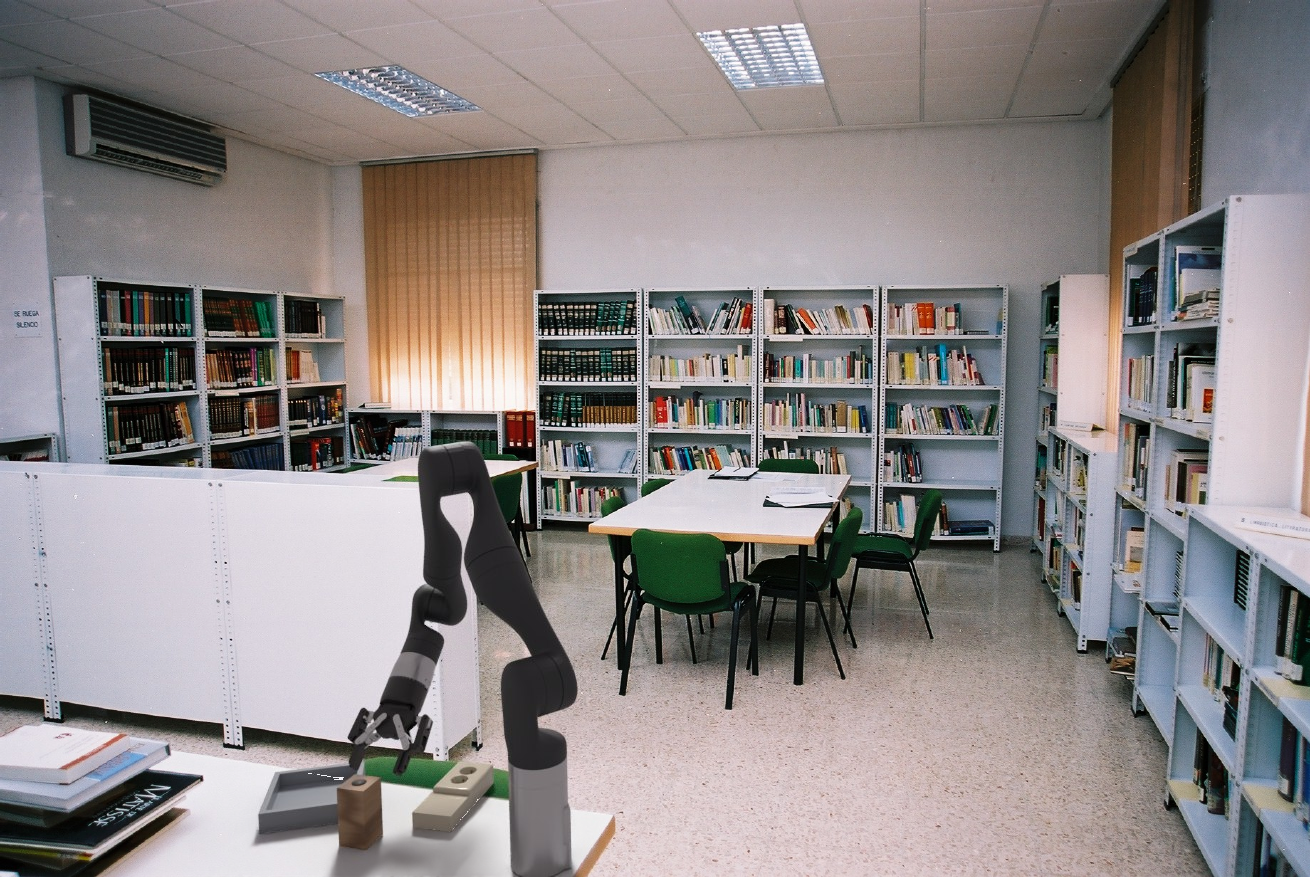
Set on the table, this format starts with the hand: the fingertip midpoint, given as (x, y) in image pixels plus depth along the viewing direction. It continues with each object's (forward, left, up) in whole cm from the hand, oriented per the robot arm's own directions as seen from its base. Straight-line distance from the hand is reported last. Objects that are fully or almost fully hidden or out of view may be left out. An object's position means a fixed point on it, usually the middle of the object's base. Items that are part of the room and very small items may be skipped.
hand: (374, 771), depth 144 cm
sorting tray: (+11, -11, -10) cm, 19 cm away
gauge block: (+2, +4, -10) cm, 11 cm away
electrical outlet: (-13, -4, -10) cm, 17 cm away
